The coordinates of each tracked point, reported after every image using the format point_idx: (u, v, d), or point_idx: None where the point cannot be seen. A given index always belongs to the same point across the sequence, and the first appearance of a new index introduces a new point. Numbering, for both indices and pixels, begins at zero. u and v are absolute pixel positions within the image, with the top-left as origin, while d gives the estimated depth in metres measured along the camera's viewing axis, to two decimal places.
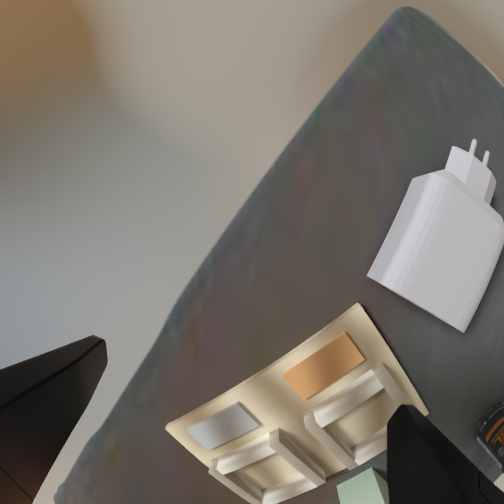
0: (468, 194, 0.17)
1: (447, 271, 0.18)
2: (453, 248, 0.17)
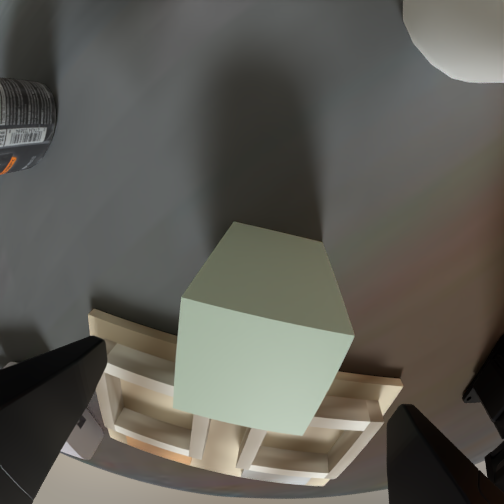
0: None
1: None
2: None
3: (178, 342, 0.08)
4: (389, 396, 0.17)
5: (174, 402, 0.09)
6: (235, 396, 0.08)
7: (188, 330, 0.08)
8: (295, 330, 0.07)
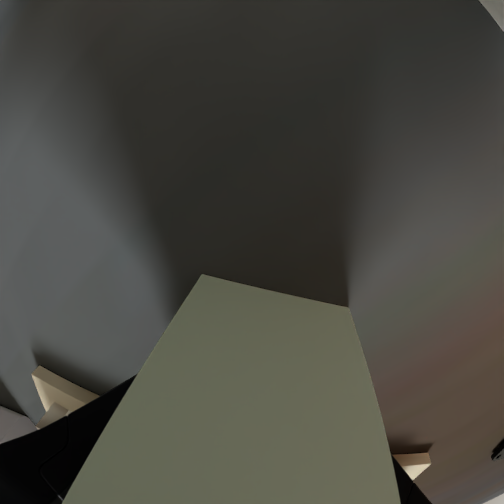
0: None
1: None
2: None
3: None
4: (413, 473, 0.11)
5: None
6: None
7: None
8: None
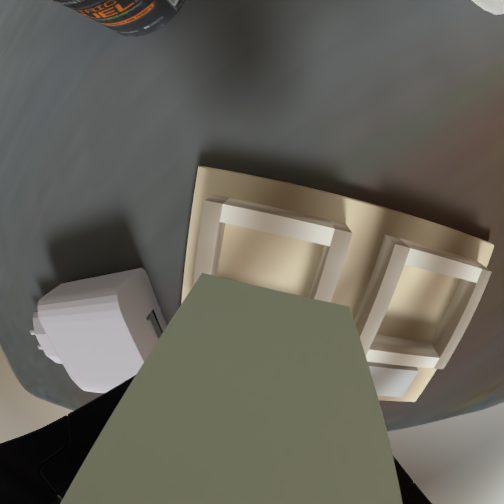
0: (64, 365, 0.20)
1: (109, 361, 0.18)
2: (95, 364, 0.19)
3: None
4: (485, 256, 0.16)
5: None
6: None
7: None
8: None
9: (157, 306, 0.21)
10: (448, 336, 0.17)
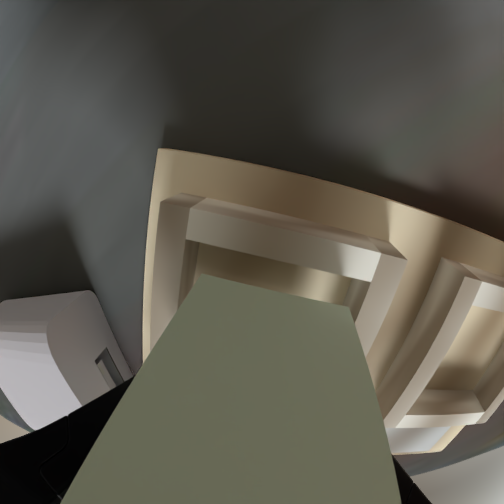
0: (10, 401, 0.13)
1: (52, 410, 0.11)
2: (39, 409, 0.12)
3: None
4: None
5: None
6: None
7: None
8: None
9: (113, 341, 0.14)
10: (498, 386, 0.10)
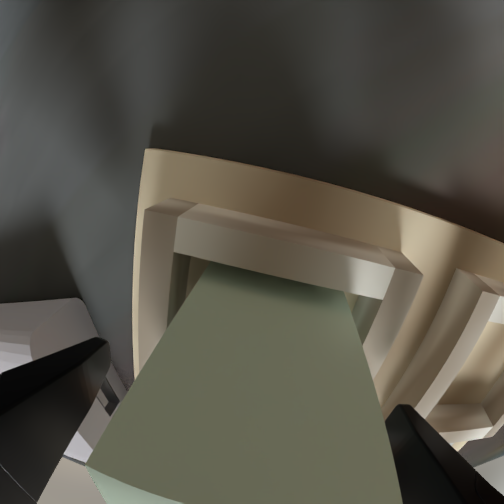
0: None
1: None
2: None
3: (105, 499, 0.03)
4: None
5: None
6: None
7: (114, 496, 0.03)
8: None
9: None
10: None
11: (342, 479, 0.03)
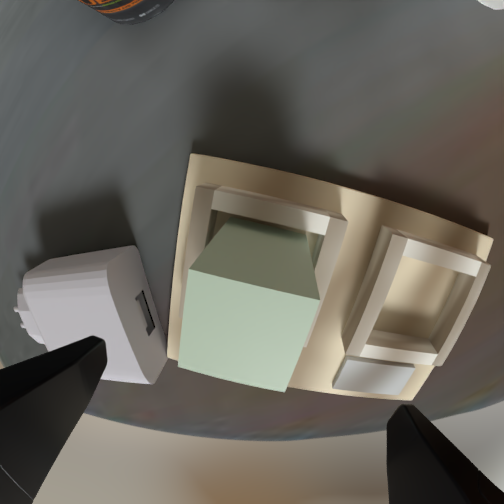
0: (46, 344, 0.19)
1: None
2: None
3: (185, 306, 0.10)
4: (484, 250, 0.16)
5: (179, 360, 0.11)
6: (229, 353, 0.11)
7: (193, 295, 0.10)
8: (274, 294, 0.10)
9: (147, 287, 0.20)
10: (446, 332, 0.17)
11: (291, 283, 0.10)
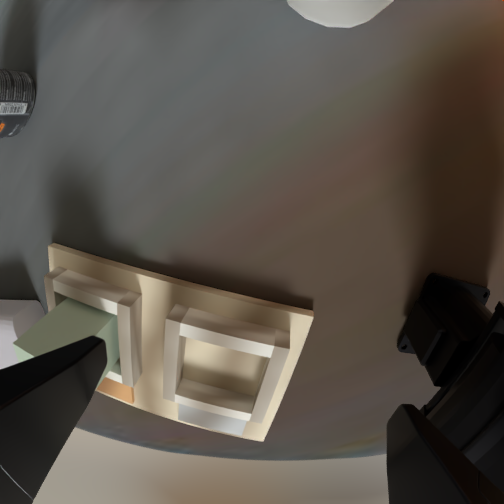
0: None
1: (15, 362, 0.21)
2: (9, 363, 0.21)
3: (18, 360, 0.14)
4: (301, 327, 0.20)
5: None
6: None
7: (18, 356, 0.14)
8: None
9: None
10: (256, 397, 0.20)
11: None
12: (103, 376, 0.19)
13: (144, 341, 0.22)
